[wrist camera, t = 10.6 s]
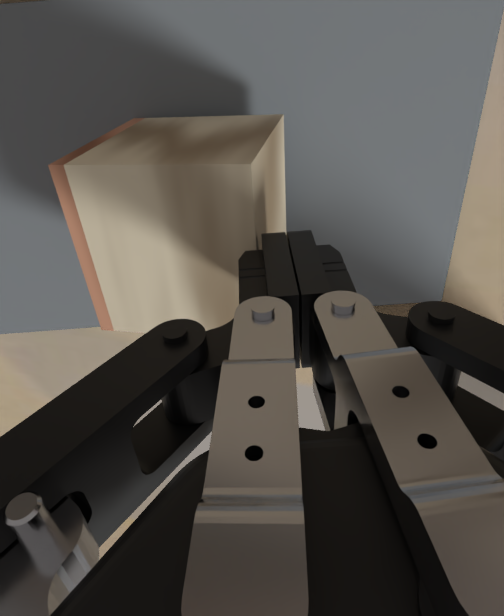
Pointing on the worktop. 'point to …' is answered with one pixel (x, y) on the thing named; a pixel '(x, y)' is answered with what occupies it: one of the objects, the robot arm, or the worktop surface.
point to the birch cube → (172, 214)
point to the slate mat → (250, 101)
